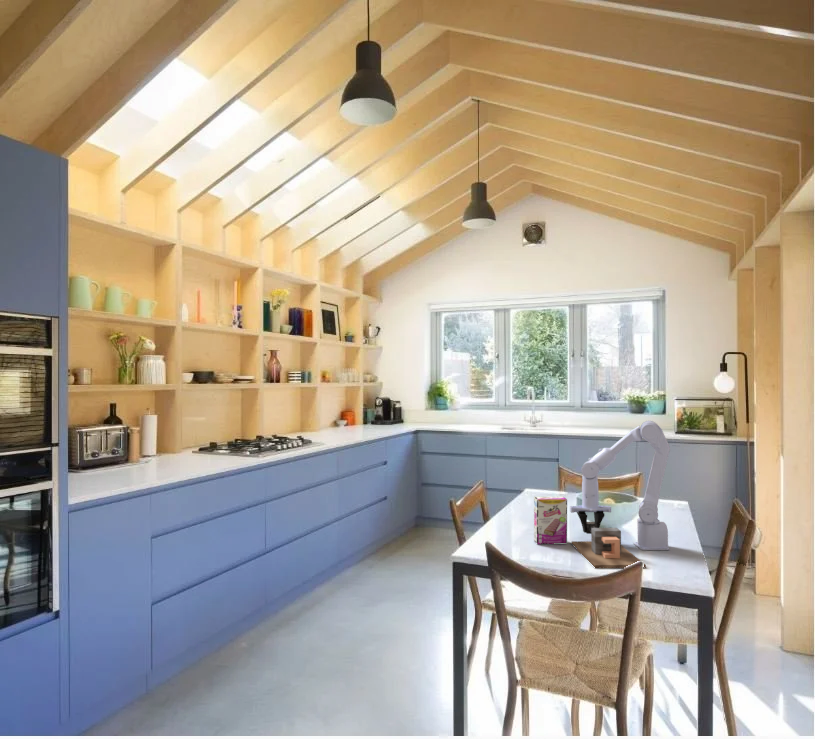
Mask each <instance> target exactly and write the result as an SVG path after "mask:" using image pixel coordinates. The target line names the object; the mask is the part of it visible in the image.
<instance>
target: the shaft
mask: <svg viewBox="0 0 815 739" xmlns="http://www.w3.org/2000/svg"><path fill="white" fill-rule="evenodd" d="M591 528H597V523H595V521H587V533H586V534H587V535H588V534H589V535H590V534H591ZM603 543H604V542H603Z"/></svg>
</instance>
